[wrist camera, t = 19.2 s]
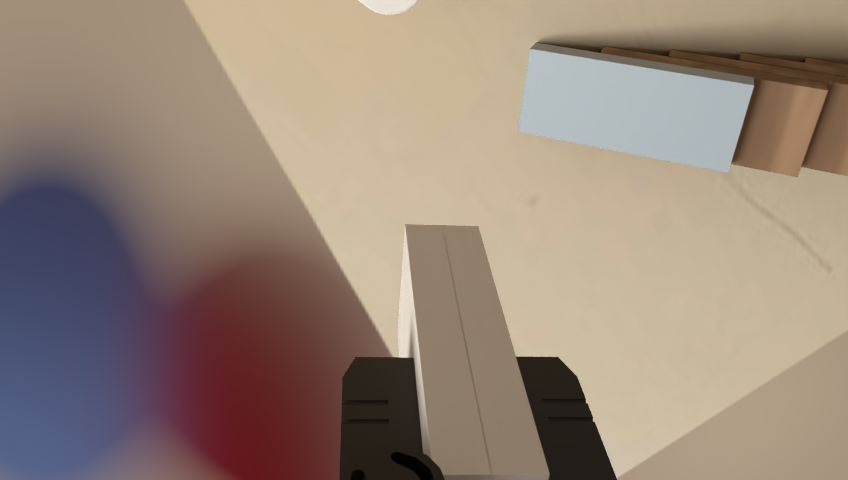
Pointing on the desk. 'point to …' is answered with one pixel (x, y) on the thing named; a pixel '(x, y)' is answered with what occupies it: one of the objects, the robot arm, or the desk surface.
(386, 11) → the pill bottle
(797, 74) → the row tile
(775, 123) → the row tile
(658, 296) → the desk surface
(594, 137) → the tile
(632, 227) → the desk surface
